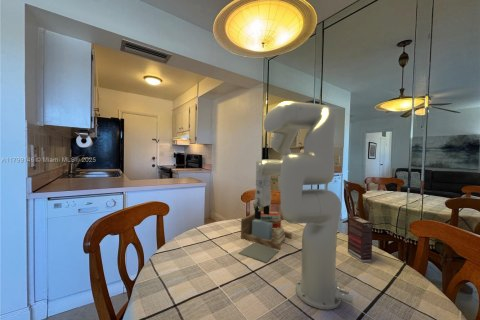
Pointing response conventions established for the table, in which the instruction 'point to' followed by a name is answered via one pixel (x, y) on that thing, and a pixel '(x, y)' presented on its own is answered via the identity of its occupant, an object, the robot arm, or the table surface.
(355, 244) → the supplement box
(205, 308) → the table surface
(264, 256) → the mat
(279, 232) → the offcut stack
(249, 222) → the rack
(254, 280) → the table surface
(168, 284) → the table surface
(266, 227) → the grey blue block
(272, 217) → the medicine box
